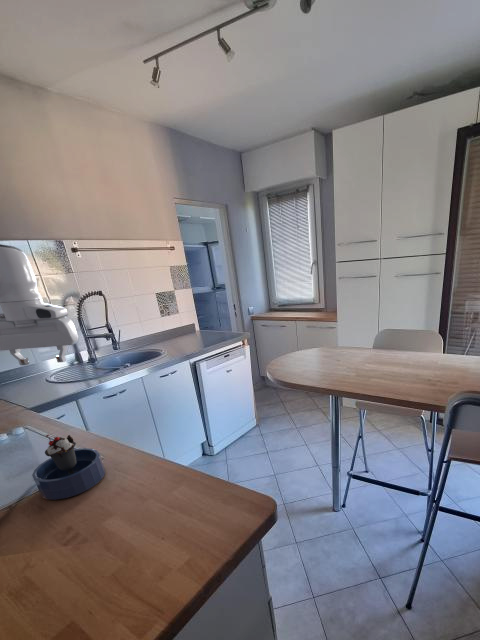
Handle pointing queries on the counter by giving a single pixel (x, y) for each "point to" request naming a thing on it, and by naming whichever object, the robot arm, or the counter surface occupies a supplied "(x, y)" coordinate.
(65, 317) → the robot arm
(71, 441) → the sundae
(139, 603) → the counter surface
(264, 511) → the counter surface
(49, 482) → the basin
